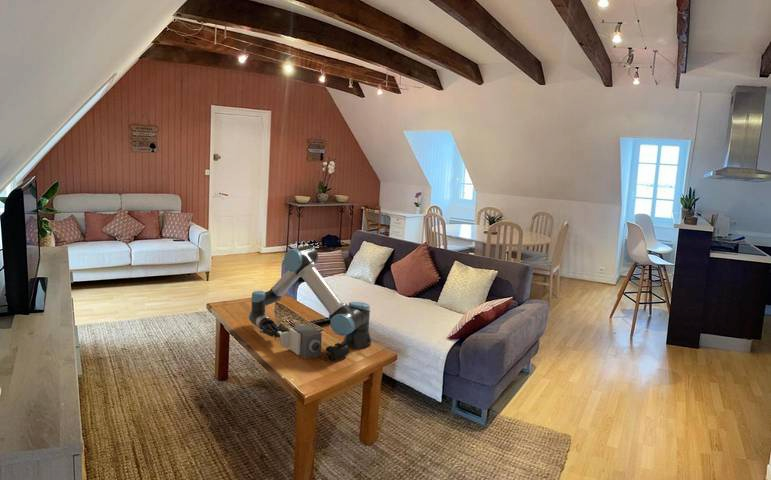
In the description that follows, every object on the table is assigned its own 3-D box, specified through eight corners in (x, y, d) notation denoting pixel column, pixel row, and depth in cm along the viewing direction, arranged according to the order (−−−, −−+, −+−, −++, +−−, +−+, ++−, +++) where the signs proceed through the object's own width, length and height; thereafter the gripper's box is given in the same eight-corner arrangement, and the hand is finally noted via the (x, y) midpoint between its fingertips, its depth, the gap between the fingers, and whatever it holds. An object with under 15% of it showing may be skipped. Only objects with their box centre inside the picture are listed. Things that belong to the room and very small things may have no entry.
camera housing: (307, 345, 262) (308, 324, 259) (323, 356, 249) (323, 334, 247) (292, 349, 256) (292, 327, 254) (307, 360, 243) (308, 337, 241)
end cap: (334, 363, 242) (335, 350, 241) (324, 359, 247) (325, 346, 246) (348, 357, 250) (349, 345, 249) (339, 353, 254) (339, 341, 253)
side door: (291, 347, 256) (291, 328, 254) (300, 354, 249) (300, 334, 247) (281, 350, 253) (281, 329, 251) (289, 357, 245) (290, 336, 243)
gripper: (276, 328, 276) (295, 342, 258) (253, 332, 268) (272, 347, 250) (276, 315, 275) (295, 328, 256) (254, 319, 267) (272, 333, 248)
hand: (284, 337), depth 253 cm, fingers closed
